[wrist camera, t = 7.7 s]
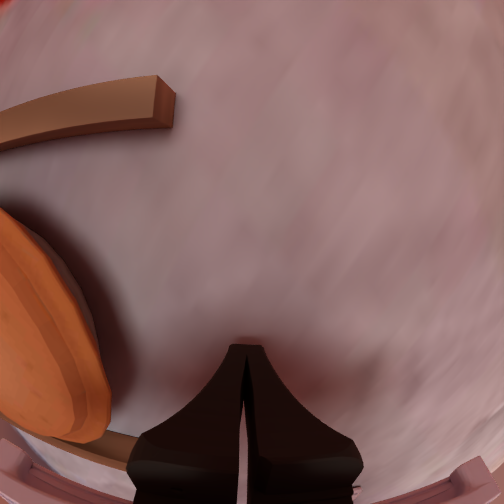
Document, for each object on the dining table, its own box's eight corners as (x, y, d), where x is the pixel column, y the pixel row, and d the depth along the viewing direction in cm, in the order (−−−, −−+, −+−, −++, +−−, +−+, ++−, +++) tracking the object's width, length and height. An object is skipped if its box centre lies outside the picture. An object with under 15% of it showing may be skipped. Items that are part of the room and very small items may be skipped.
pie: (-51, 210, 11) (-96, 226, 6) (98, 153, 11) (23, 152, 6) (10, 387, 15) (-17, 421, 10) (165, 418, 15) (148, 481, 10)
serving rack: (189, 457, 16) (185, 483, 14) (0, 394, 15) (-13, 409, 13) (175, 93, 10) (157, 75, 7) (-55, 149, 9) (-77, 152, 7)
